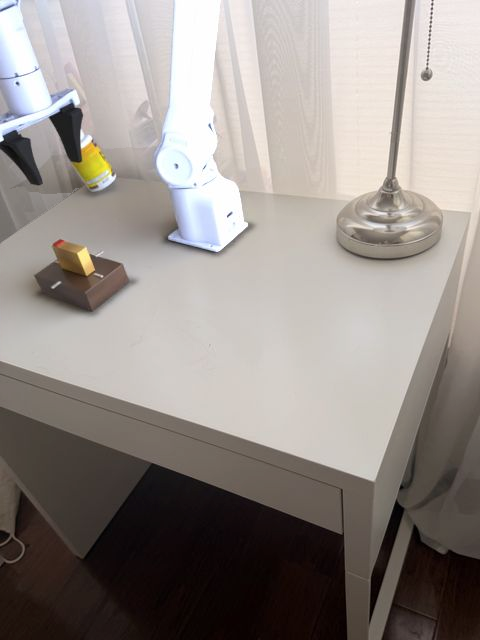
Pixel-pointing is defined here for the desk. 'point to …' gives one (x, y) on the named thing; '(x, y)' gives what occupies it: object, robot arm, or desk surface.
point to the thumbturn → (73, 257)
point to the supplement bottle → (93, 165)
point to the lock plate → (83, 282)
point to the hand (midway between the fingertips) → (57, 172)
